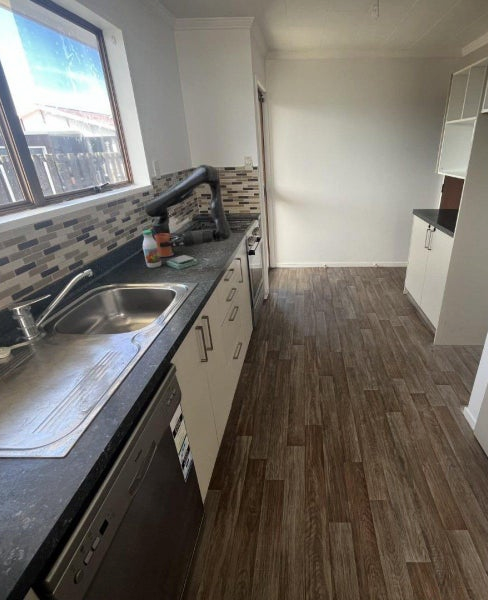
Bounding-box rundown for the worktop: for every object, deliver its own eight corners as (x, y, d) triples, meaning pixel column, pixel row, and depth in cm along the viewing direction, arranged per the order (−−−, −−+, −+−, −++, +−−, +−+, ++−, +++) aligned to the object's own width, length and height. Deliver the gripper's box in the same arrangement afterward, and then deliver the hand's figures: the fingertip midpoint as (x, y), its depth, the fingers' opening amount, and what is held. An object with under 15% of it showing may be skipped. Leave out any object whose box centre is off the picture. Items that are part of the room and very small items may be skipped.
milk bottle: (144, 267, 184) (135, 232, 176) (154, 263, 191) (146, 228, 182) (154, 268, 181) (146, 233, 173) (164, 264, 188) (157, 229, 179)
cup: (156, 254, 166) (152, 235, 161) (168, 251, 170) (164, 232, 166) (163, 257, 162) (159, 237, 158) (175, 253, 167) (171, 234, 162)
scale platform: (169, 260, 186) (168, 259, 185) (184, 255, 193) (184, 254, 192) (178, 263, 180) (178, 262, 180) (194, 259, 187) (194, 258, 187)
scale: (167, 265, 187) (166, 260, 185) (185, 259, 195) (185, 255, 194) (179, 269, 180) (178, 264, 179) (197, 263, 188) (197, 259, 187)
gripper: (188, 228, 174) (154, 233, 166) (195, 234, 163) (159, 239, 155) (190, 242, 177) (157, 247, 170) (197, 248, 166) (162, 254, 159)
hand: (158, 243), depth 163 cm, fingers closed on cup, 6 cm apart
